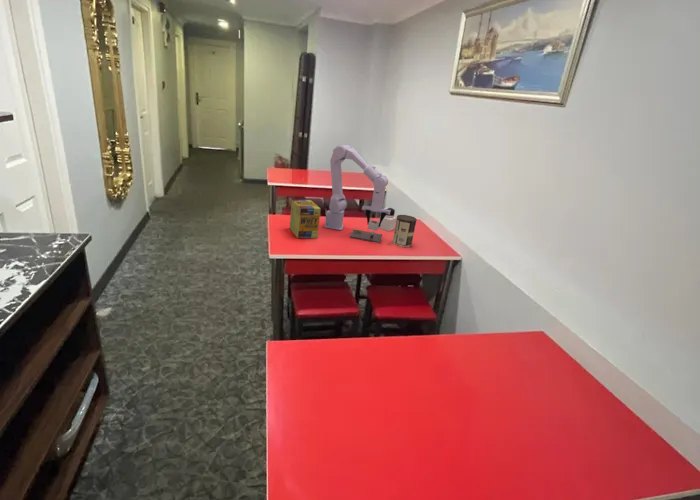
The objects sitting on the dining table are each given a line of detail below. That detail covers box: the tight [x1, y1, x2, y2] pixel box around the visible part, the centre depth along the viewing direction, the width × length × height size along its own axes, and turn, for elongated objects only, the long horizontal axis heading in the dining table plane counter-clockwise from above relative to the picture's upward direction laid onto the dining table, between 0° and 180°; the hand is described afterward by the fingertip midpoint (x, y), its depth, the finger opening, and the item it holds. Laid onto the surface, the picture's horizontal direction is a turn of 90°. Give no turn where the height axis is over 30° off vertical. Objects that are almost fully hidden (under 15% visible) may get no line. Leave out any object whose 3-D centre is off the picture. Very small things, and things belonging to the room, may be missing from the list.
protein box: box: [289, 199, 321, 239], centre depth 192 cm, size 10×15×16 cm
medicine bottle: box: [379, 207, 397, 232], centre depth 217 cm, size 7×7×12 cm
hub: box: [367, 219, 380, 232], centre depth 199 cm, size 5×5×4 cm
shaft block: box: [349, 228, 383, 244], centre depth 201 cm, size 16×12×4 cm
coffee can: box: [391, 214, 418, 248], centre depth 197 cm, size 10×10×14 cm
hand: (373, 225), depth 199 cm, fingers closed on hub, 5 cm apart
